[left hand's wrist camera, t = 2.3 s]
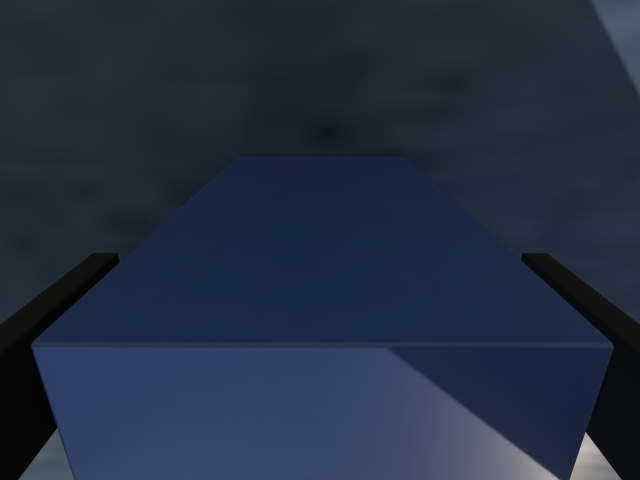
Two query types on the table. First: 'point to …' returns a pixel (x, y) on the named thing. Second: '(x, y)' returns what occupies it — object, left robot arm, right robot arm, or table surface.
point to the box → (321, 340)
